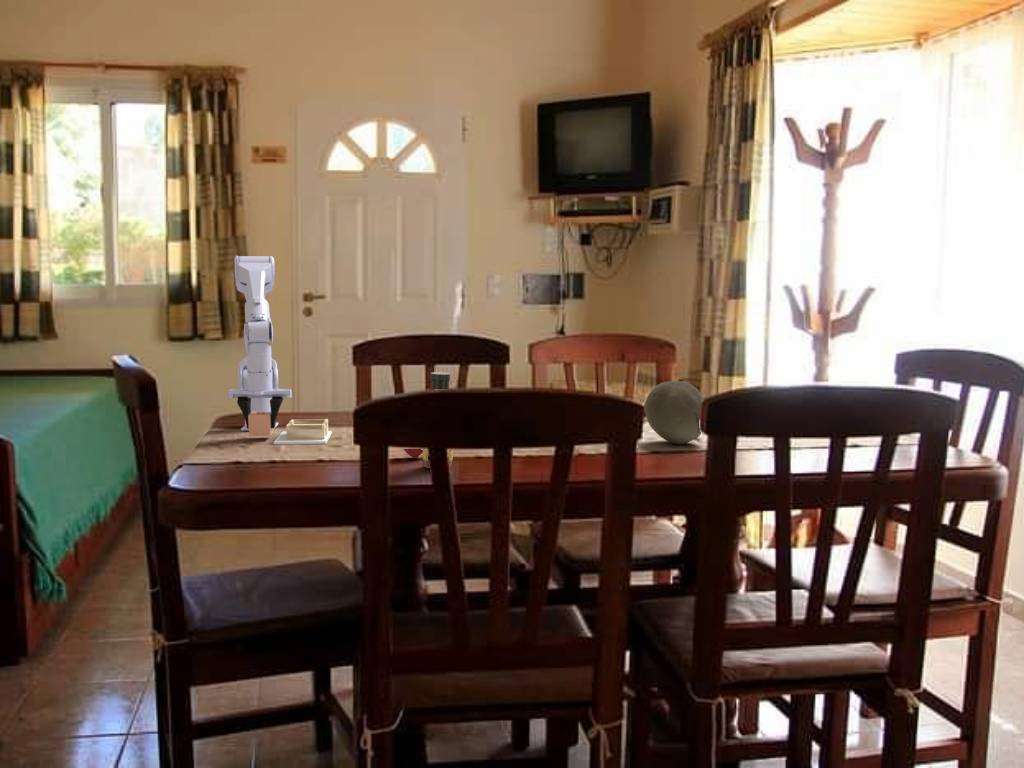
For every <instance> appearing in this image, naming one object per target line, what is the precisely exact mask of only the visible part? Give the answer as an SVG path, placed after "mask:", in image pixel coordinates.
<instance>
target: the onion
mask: <svg viewBox="0 0 1024 768" xmlns="http://www.w3.org/2000/svg"><path fill="white" fill-rule="evenodd" d="M403 450H404V452H405V453H406V454H407V455H408V456H410V457H411V458H412V459H417V458H419V457H420V456H421V455H423V450H421V449H403Z"/></svg>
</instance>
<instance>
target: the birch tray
mask: <svg viewBox="0 0 1024 768" xmlns="http://www.w3.org/2000/svg"><path fill="white" fill-rule="evenodd" d="M285 427H286V430H285V431H287V440H307V439H325V437H326V436H327V434H328V431H329V419H328V418H322V419H321V418H319V419H317V418H315V419H314V418H312V419H311V418H309V419H308V418H306V419H305V418H304V419H300V418H298V419H294V418H293V419H291V420H289V422H288V423H287V424H286V426H285Z"/></svg>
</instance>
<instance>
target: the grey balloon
mask: <svg viewBox="0 0 1024 768" xmlns="http://www.w3.org/2000/svg"><path fill="white" fill-rule="evenodd" d="M703 397H704V396H703V395H702V394H701V392H700V391H699V389H698V388H697V387H695V386H694V385H692V384H691V383H690V382H687V381H683V380H682V381H681V380H679V381H678V380H674V381H663V382H660V383H659V384H657V385H656V386H654V387H653V389H651V391H650V392H649V394H648V395H647V397H646V399H645V403H644V411H645V410H646V413H645V418H646V420H647V423H648V425H649V426H650V428H651V429H652V430H653V431H654V432H655V433H656V434H657V435H658V436H659V437H660V438H662V440H664V441H667V442H668V443H672V444H674V445H686V444H688V443H690V442H692V441H694V440H697V438H699V437H700V436H701V435H702V433H701V432H700V428H699V419H700V405H701V403H702V402H703V401H704V402H705V400H704V398H703Z"/></svg>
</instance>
